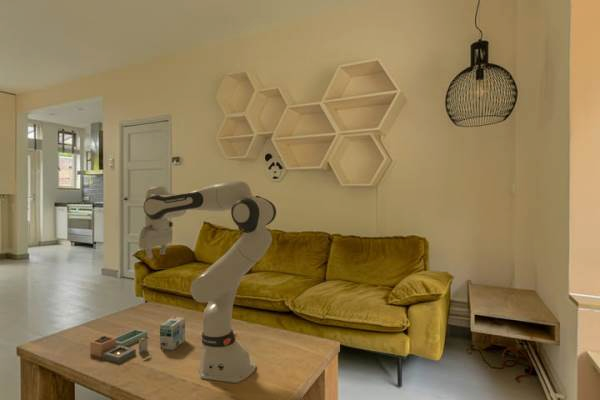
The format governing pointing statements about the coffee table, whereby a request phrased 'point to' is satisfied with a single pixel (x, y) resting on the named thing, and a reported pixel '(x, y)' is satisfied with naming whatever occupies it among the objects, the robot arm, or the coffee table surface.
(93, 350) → the open cubby frame
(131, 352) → the gray square frame
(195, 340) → the coffee table surface
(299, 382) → the coffee table surface
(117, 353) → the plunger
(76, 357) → the coffee table surface
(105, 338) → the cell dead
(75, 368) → the coffee table surface
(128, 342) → the trough
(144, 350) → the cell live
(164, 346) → the light bulb box
